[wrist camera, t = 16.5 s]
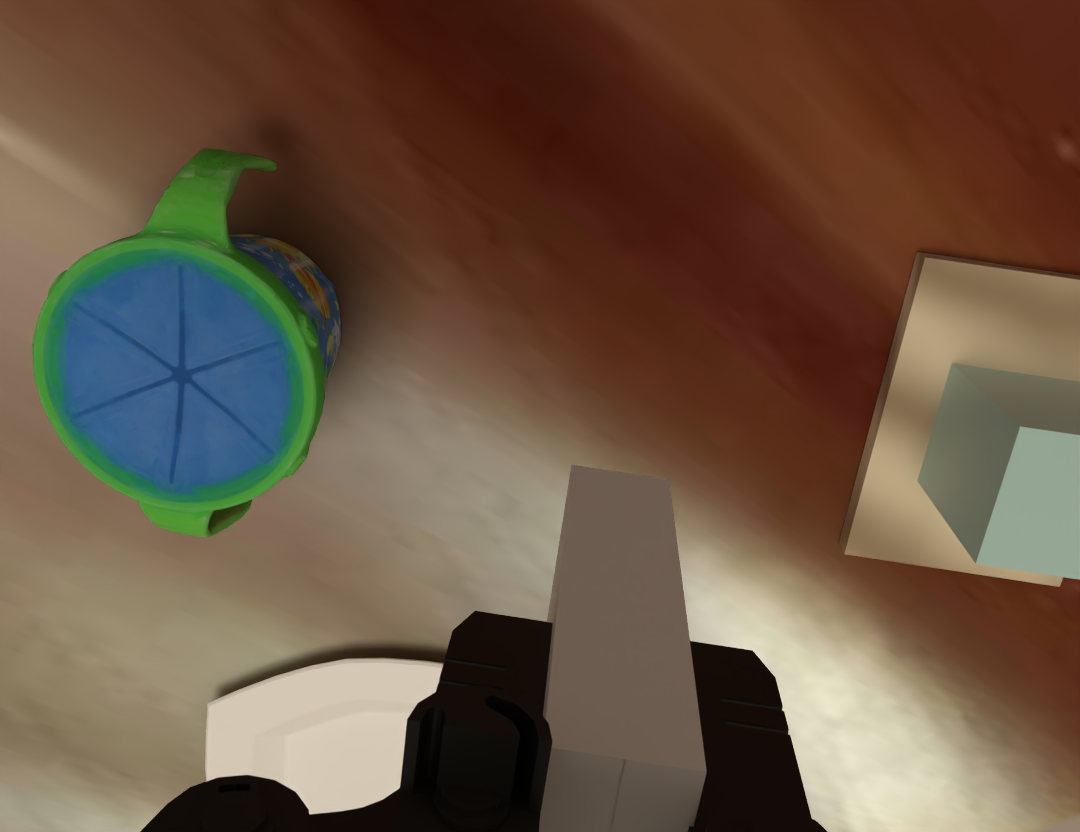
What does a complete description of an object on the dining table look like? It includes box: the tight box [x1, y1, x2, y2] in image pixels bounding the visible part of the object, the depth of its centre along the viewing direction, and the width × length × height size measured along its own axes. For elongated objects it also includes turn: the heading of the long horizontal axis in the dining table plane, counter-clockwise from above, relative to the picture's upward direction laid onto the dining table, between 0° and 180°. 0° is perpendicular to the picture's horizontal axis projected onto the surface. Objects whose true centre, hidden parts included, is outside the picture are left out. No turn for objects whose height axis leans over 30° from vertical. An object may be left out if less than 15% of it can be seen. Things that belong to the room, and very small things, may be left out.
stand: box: [839, 252, 1080, 587], centre depth 41 cm, size 14×10×7 cm
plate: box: [205, 658, 444, 814], centre depth 54 cm, size 19×19×2 cm
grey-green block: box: [918, 363, 1080, 579], centre depth 40 cm, size 6×6×8 cm
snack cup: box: [32, 148, 342, 537], centre depth 41 cm, size 16×10×10 cm
